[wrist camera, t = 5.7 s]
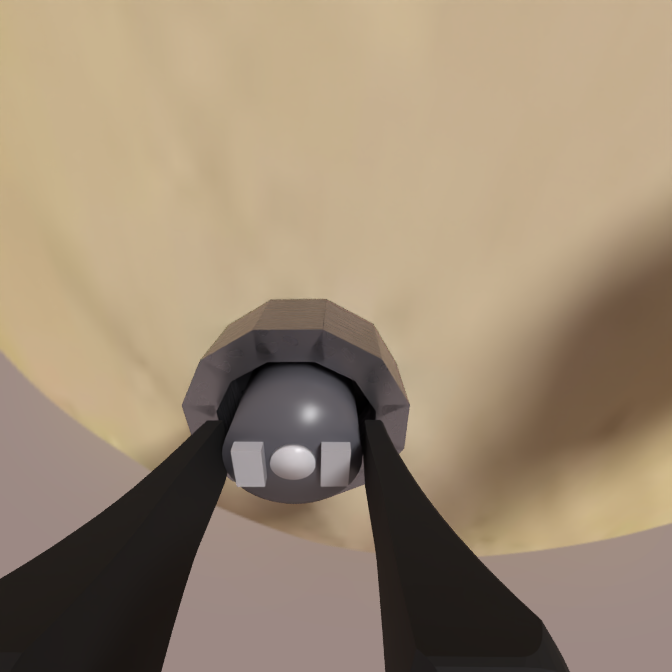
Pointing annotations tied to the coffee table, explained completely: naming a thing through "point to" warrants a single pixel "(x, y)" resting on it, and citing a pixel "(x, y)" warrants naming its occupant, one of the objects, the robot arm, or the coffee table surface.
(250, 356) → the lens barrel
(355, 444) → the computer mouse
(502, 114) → the coffee table surface
